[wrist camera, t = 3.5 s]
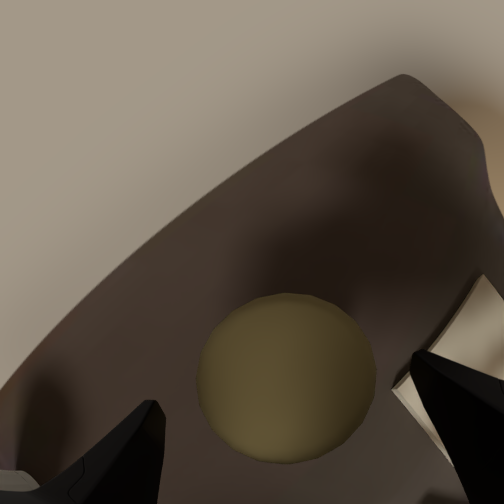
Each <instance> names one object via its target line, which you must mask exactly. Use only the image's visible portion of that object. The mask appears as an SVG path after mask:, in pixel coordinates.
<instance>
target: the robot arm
mask: <svg viewBox="0 0 504 504" xmlns="http://www.w3.org/2000/svg"><path fill="white" fill-rule="evenodd" d="M409 372H410V376H411V378H412V381H413V383H414V385H415V388H416V390H417V392H418V395H419V397H420V400H421V402H422V405H423V407H424V409H425V411H426V413H427V414H428V416H429V418H430V420H431V422H432V424H433V426H434V428H435V429H436V431H437V433H438V435H439V437H440V439H441V441H442V443H443V445H444V447H445V449H446V451H447V453H448V455H449V457H450V459H451V461H452V464H453V466H454V468H455V470H456V472H457V474H458V477H459V479H460V481H461V483H462V486H463V488H464V491H465V493H466V495H467V498H468V500H469V503H470V504H504V380H502V379H498V378H496V377H494V376H491V375H488V374H486V373H483V372H480V371H478V370H475V369H473V368H470V367H467V366H465V365H462V364H460V363H457V362H455V361H452V360H450V359H447V358H445V357H442V356H440V355H437V354H435V353H432V352H430V351H427V350H425V349H421V350H419V351H416V352H414V353H413V355H412V359H411V364H410V369H409ZM165 427H166V417H165V414H164V412H163V411H162V409H161V407H160V405H159V404H158V402H157V401H156V400H145V401H143V402H142V403H141V404H140V405H139V406H138V407H137V408H136V409H135V410H133V411H132V412H131V413H130V414H129V415H128V416H127V417H126V418H125V419H124V420H123V421H121V422H120V423H119V424H118V425H117V426H116V427H115V428H114V429H113V430H111V431H110V432H109V433H108V434H107V435H106V436H105V437H104V438H102V439H101V440H100V441H99V442H98V443H97V444H96V445H95V446H93V447H92V448H91V449H90V450H89V451H88V452H86V453H85V454H84V455H83V456H82V457H81V458H79V459H78V460H77V461H76V462H75V463H73V464H72V465H71V466H70V467H68V468H67V469H66V470H64V471H63V472H61V473H60V474H59V475H57V476H56V477H54V478H53V479H51V480H49V481H48V482H46V483H45V484H43V485H42V486H40V487H38V488H36V489H34V490H31V491H5V490H0V504H157V499H158V492H159V485H160V478H161V472H162V465H163V459H164V448H165Z"/></svg>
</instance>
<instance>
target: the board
mask: <svg viewBox="0 0 504 504" xmlns="http://www.w3.org/2000/svg"><path fill="white" fill-rule="evenodd" d="M427 351H430V352H432V353H435V354H437V355H440V356H442V357H445V358H447V359H450V360H452V361H455V362H457V363H460V364H462V365H465V366H467V367H470V368H473V369H475V370H478V371H480V372H483V373H486V374H488V375H491V376H494V377H496V378H498V379H502V380H504V300H503V299H502V298H501V296H500V295H499V293H498V292H497V291H496V289H495V288H494V287H493V286H492V284H491V283H490V282H489V280H488V279H487V278H486V277H485V275H484V274H483V275H481V276H480V277H479V278H478V279H477V280H476V282H475V283H474V285H473V287H472V288H471V290H470V292H469V293H468V295H467V296H466V298H465V300H464V301H463V303H462V304H461V306H460V307H459V309H458V310H457V311H456V313H455V314H454V316H453V317H452V319H451V320H450V321H449V323H448V324H447V326H446V327H445V328H444V330H443V331H442V332H441V334H440V335H439V336H438V337H437V339H436V340H435V341H434V343H433V344H432V345H431V346H430V347H429V349H428V350H427ZM391 390H392V391H393V392H394V394H395V395H396V396H397V397H398V398H399V400H400V401H401V402H402V403H403V404H404V406H405V407H406V408H407V409H408V411H409V412H410V413H411V414H412V415H413V417H414V418H415V419H416V420H417V422H418V423H419V424H420V425H421V426H422V428H423V429H424V430H425V431H426V433H427V434H428V435H429V436H430V438H431V439H432V440H433V441H434V443H435V444H436V445H437V446H438V448H439V449H440V450H441V451H442V453H443V454H444V455H445V456H446V458H447V459H448V460H449V462H450V463H451V464H452V461H451V459H450V457H449V455H448V453H447V451H446V449H445V447H444V445H443V443H442V441H441V439H440V437H439V435H438V433H437V431H436V429H435V428H434V426H433V424H432V422H431V420H430V418H429V416H428V414H427V413H426V411H425V409H424V407H423V405H422V402H421V400H420V397H419V395H418V392H417V390H416V388H415V385H414V383H413V381H412V378H411V376H410V372H408V373H407V374H406V375H405V376H404V377H403V378H402V379H401V380H400V381H399V382H398V383H397V384H396V385H395V386H394V387H393V388H392V389H391ZM452 465H453V464H452ZM453 467H454V466H453Z"/></svg>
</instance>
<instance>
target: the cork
mask: <svg viewBox="0 0 504 504" xmlns="http://www.w3.org/2000/svg"><path fill="white" fill-rule="evenodd" d="M376 370H377V369H376V365H375V361H374V357H373V353H372V349H371V345H370V343H369V341H368V340H367V338H366V336H365V335H364V333H363V332H362V330H361V329H360V327H359V326H358V324H357V322H356V321H355V320H353V319H352V318H351V317H350V316H348V315H347V314H346V313H345V312H344V311H342V310H341V309H340V308H339V307H337V306H336V305H334V304H332V303H329V302H327V301H324V300H322V299H319V298H317V297H314V296H312V295H304V294H292V293H280V294H275V295H270V296H265V297H260V298H256V299H254V300H253V301H251V302H249V303H247V304H245V305H243V306H241V307H239V308H237V309H235V310H233V311H232V312H231V313H230V314H229V315H228V316H227V317H226V318H225V319H224V320H223V321H222V322H221V323H220V324H219V325H218V326H217V327H216V328H214V330H213V331H212V333H211V335H210V337H209V339H208V340H207V342H206V344H205V346H204V348H203V350H202V351H201V354H200V359H199V364H198V370H197V375H196V384H197V392H198V399H199V405H200V407H201V409H202V411H203V413H204V415H205V417H206V419H207V421H208V423H209V425H210V427H211V429H212V430H213V431H214V432H215V433H216V434H217V435H218V436H219V437H220V438H221V439H222V440H223V441H224V442H225V443H226V444H227V445H229V446H230V447H231V448H232V449H233V450H235V451H238V452H240V453H242V454H244V455H246V456H248V457H251V458H253V459H255V460H257V461H262V462H270V463H279V464H293V463H298V462H303V461H308V460H312V459H317V458H319V457H321V456H323V455H324V454H326V453H328V452H330V451H332V450H333V449H335V448H337V447H338V446H340V445H342V444H343V443H344V442H345V441H346V440H347V439H348V438H349V437H350V436H351V435H352V434H353V433H354V432H355V430H356V429H357V428H358V427H359V426H360V425H361V424H362V423H363V421H364V419H365V416H366V414H367V412H368V410H369V408H370V405H371V403H372V401H373V398H374V394H375V383H376Z"/></svg>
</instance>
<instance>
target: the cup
mask: <svg viewBox="0 0 504 504" xmlns="http://www.w3.org/2000/svg"><path fill="white" fill-rule="evenodd" d="M38 487H40V486H39V484H38V483H37V482H36V481H35V480H34V479H33V478H32V477H31V476H30V475H29V474H28V473H26V472H24V471H7V470H0V490H5V491H31V490H34V489H36V488H38Z"/></svg>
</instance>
